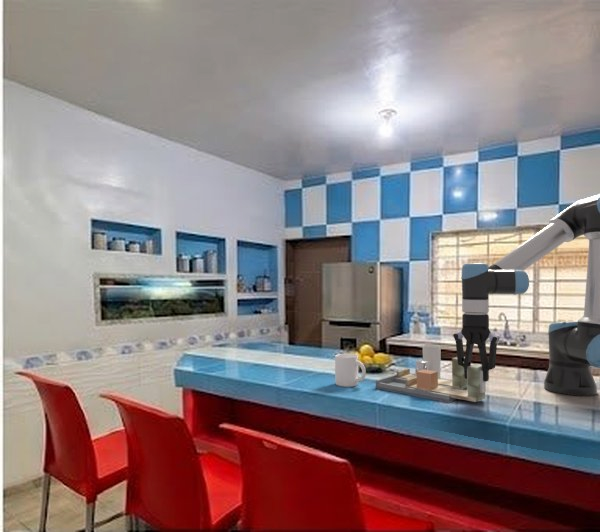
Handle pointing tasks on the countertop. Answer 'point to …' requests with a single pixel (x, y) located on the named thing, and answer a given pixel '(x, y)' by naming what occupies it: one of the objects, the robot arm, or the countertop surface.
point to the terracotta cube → (427, 379)
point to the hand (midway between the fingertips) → (476, 390)
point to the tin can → (421, 366)
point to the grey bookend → (432, 357)
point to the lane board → (399, 386)
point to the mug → (348, 370)
